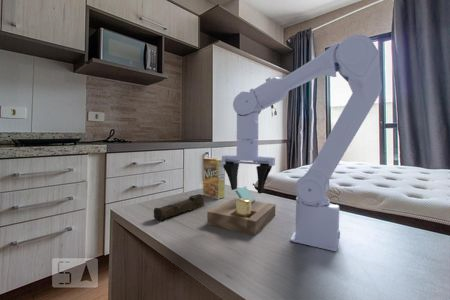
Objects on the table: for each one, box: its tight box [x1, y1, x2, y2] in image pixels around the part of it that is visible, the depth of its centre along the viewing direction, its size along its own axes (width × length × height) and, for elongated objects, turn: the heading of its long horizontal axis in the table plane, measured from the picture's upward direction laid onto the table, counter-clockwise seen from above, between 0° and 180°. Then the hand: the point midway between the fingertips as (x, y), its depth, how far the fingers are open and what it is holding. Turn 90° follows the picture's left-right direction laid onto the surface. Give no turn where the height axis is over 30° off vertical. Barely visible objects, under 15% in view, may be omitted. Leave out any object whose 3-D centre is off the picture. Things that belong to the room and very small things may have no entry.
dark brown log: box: [153, 193, 205, 222], centre depth 69 cm, size 19×4×5 cm, turn 139°
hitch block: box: [206, 197, 276, 236], centre depth 64 cm, size 14×16×4 cm
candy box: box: [202, 157, 226, 200], centre depth 88 cm, size 9×4×15 cm, turn 49°
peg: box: [236, 197, 251, 218], centre depth 59 cm, size 4×4×7 cm
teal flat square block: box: [234, 185, 256, 203], centre depth 67 cm, size 6×6×1 cm
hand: (246, 190), depth 59 cm, fingers open, 7 cm apart
